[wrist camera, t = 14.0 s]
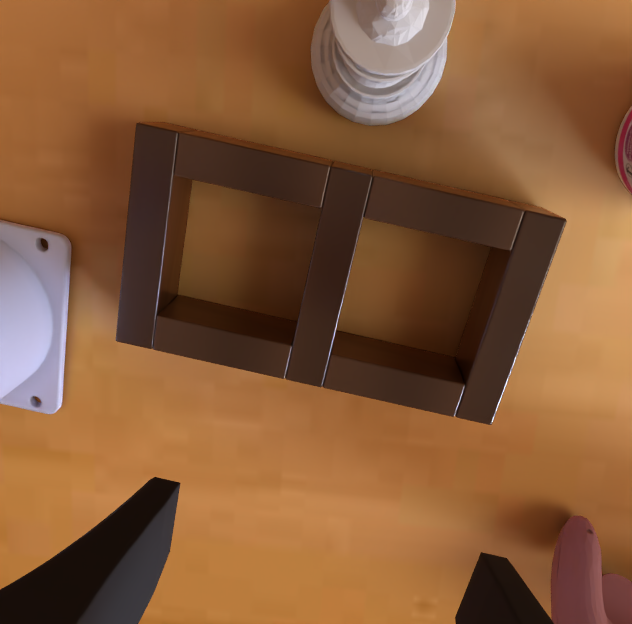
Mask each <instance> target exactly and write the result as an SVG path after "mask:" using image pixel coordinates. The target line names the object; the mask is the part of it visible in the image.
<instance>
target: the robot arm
mask: <svg viewBox="0 0 632 624" xmlns="http://www.w3.org/2000/svg"><path fill="white" fill-rule="evenodd" d="M41 238H43V239H45V240H46V241H47V242H48V245H49V247H48V249H46V248H44V247H43V246H42V245H41ZM71 250H72V248H71V243H70V241H69V239H68V238H67V237H66V236H65V235H63V234H61V233H57V232H53V231H48V230H44V229H39V228H35V227H30V226H26V225H21V224H17V223H13V222H8V221H4V220H0V403H1V404H5V405H10V406H14V407H19V408H23V409H28V410H32V411H37V412H41V413H45V414H52V413H55V412H56V411H57V410H58V409H59V408H60V407H61V405H62V397H63V381H64V364H65V348H66V332H67V315H68V299H69V283H70V266H71ZM34 396H36V397H38V398H39V399H40V400H41V403H40V402H37V401H36V400H35V397H34ZM179 488H180V483H179V482H174V481H170V480H166V479H161V478H157V477H154V478H152V479H151V480H149V481H148V482H147V483H146V484H145V485H144V486H143V487H142V488H140V489H139V490H138V491H137V492H136V493H135V494H134V495H133V496H132V497H130V498H129V499H128V500H127V501H126V502H125V503H123V504H122V505H121V506H120V507H119V508H118V509H116V510H115V511H114V512H113V513H112V514H110V515H109V516H108V517H107V518H105V519H104V520H103V521H101V522H100V523H99V524H98V525H96V526H95V527H94V528H93V529H91V530H90V531H89V532H88V533H86V534H85V535H84V536H82V537H81V538H79V539H78V540H77V541H75V542H74V543H72V544H71V545H70V546H68V547H67V548H65V549H64V550H63V551H61V552H60V553H58V554H57V555H56V556H54V557H53V558H51V559H50V560H48V561H47V562H45V563H44V564H42V565H41V566H39V567H37V568H36V569H34V570H33V571H31V572H30V573H28V574H26V575H25V576H23V577H21V578H20V579H18V580H16V581H15V582H13V583H11V584H10V585H8V586H6V587H4V588H2V589H1V590H0V624H138V623H139V621H140V619H141V617H142V615H143V613H144V611H145V609H146V607H147V605H148V603H149V601H150V599H151V597H152V595H153V593H154V591H155V588H156V586H157V583H158V581H159V578H160V576H161V573H162V570H163V568H164V565H165V562H166V560H167V557H168V554H169V552H170V547H171V540H172V534H173V527H174V520H175V514H176V507H177V501H178V494H179ZM455 619H456V624H554V623H553V621H552V620H551V619H550V617H549V616H548V615H547V613H546V612H545V610H544V609H543V608H542V606H541V605H540V603H539V602H538V601H537V599H536V598H535V596H534V595H533V594H532V592H531V591H530V589H529V588H528V587H527V585H526V584H525V582H524V581H523V580H522V578H521V577H520V575H519V574H518V573H517V571H516V570H515V568H514V567H513V566H512V564H511V563H510V562H509V560H508V559H507V558H504V557H499V556H495V555H491V554H486V553H482V552H481V554H480V556H479V559H478V561H477V564H476V566H475V569H474V572H473V574H472V577H471V579H470V582H469V584H468V587H467V589H466V592H465V594H464V597H463V599H462V602H461V604H460V607H459V609H458V612H457V614H456V617H455Z"/></svg>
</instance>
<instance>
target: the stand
mask: <svg viewBox="0 0 632 624" xmlns="http://www.w3.org/2000/svg"><path fill="white" fill-rule="evenodd" d="M192 179H193V180H197V181H201V182H206V183H210V184H215V185H219V186H224V187H228V188H232V189H237V190H241V191H246V192H250V193H255V194H259V195H264V196H268V197H272V198H277V199H281V200H286V201H290V202H295V203H299V204H304V205H308V206H312V207H317V208H322V210H321V214H320V219H319V224H318V228H317V233H316V238H315V242H314V247H313V252H312V256H311V261H310V266H309V270H308V275H307V280H306V284H305V289H304V294H303V298H302V303H301V308H300V312H299V317H298V322H296V321H291V320H287V319H282V318H278V317H274V316H269V315H265V314H260V313H256V312H251V311H247V310H242V309H238V308H234V307H229V306H225V305H220V304H216V303H211V302H207V301H202V300H198V299H194V298H189V297H185V296H180V295H178V296H177V293H178V285H179V278H180V270H181V262H182V255H183V247H184V240H185V232H186V225H187V217H188V209H189V202H190V194H191V187H192ZM363 217H364V218H366V219H370V220H375V221H379V222H384V223H388V224H393V225H397V226H402V227H406V228H410V229H415V230H419V231H424V232H428V233H433V234H437V235H442V236H446V237H450V238H455V239H459V240H464V241H468V242H473V243H477V244H481V245H486V246H490V247H491V250H490V253H489V256H488V259H487V262H486V265H485V268H484V271H483V275H482V278H481V281H480V284H479V287H478V290H477V293H476V296H475V299H474V302H473V305H472V308H471V311H470V314H469V317H468V320H467V323H466V326H465V330H464V333H463V336H462V339H461V342H460V345H459V348H458V351H457V354H456V357H455V358H454V357H451V356H446V355H442V354H437V353H433V352H428V351H424V350H420V349H415V348H411V347H406V346H402V345H397V344H393V343H388V342H384V341H380V340H375V339H371V338H366V337H362V336H357V335H353V334H348V333H344V332H340V331H336V328H337V324H338V320H339V316H340V312H341V308H342V304H343V299H344V295H345V291H346V287H347V283H348V279H349V275H350V270H351V266H352V262H353V258H354V254H355V250H356V246H357V241H358V237H359V233H360V229H361V225H362V221H363ZM565 224H566V219H565V218H563V217H561V216H559V215H557V214H554V213H552V212H550V211H548V210H546V209H544V208H542V207H537V206H533V205H529V204H524V203H520V202H515V201H511V200H508V201H507V200H505V199H502V198H498V197H493V196H489V195H484V194H480V193H475V192H471V191H467V190H462V189H458V188H453V187H449V186H444V185H440V184H435V183H431V182H427V181H422V180H418V179H413V178H409V177H404V176H400V175H396V174H391V173H387V172H382V171H378V170H372V171H371V169H369V168H365V167H360V166H356V165H351V164H347V163H342V162H338V161H334V162H333V160H329V159H325V158H320V157H316V156H311V155H307V154H302V153H298V152H294V151H289V150H285V149H280V148H276V147H271V146H267V145H262V144H258V143H254V142H249V141H245V140H240V139H236V138H231V137H227V136H223V135H218V134H214V133H209V132H205V131H198V130H196V129H191V128H187V127H183V126H178V125H174V124H169V123H165V122H139V123H137V124H136V132H135V142H134V153H133V164H132V174H131V185H130V195H129V206H128V216H127V227H126V237H125V248H124V259H123V269H122V280H121V290H120V301H119V311H118V322H117V333H116V341H118V342H122V343H127V344H131V345H135V346H140V347H144V348H149V349H152V348H153V349H154V350H157V351H162V352H166V353H171V354H175V355H180V356H184V357H189V358H193V359H197V360H202V361H206V362H211V363H215V364H220V365H224V366H229V367H233V368H237V369H242V370H246V371H251V372H255V373H260V374H264V375H269V376H273V377H277V378H282V379H285V378H286V379H287V380H291V381H295V382H300V383H304V384H309V385H313V386H318V387H322V386H323V387H324V388H327V389H332V390H336V391H341V392H345V393H349V394H354V395H358V396H363V397H367V398H372V399H376V400H381V401H385V402H389V403H394V404H398V405H403V406H407V407H412V408H416V409H421V410H425V411H430V412H434V413H438V414H443V415H447V416H452V417H454V416H456V417H457V418H461V419H466V420H470V421H475V422H479V423H484V424H488V425H491V424H492V422H493V420H494V417H495V414H496V411H497V409H498V406H499V403H500V401H501V398H502V395H503V393H504V390H505V387H506V384H507V382H508V379H509V376H510V374H511V371H512V368H513V365H514V363H515V360H516V357H517V355H518V352H519V349H520V346H521V344H522V341H523V338H524V336H525V333H526V330H527V327H528V325H529V322H530V319H531V317H532V314H533V311H534V308H535V306H536V303H537V300H538V298H539V295H540V292H541V290H542V287H543V284H544V281H545V279H546V276H547V273H548V271H549V268H550V265H551V262H552V260H553V257H554V254H555V252H556V249H557V246H558V243H559V241H560V238H561V235H562V233H563V230H564V227H565Z"/></svg>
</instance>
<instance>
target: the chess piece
mask: <svg viewBox="0 0 632 624" xmlns="http://www.w3.org/2000/svg"><path fill="white" fill-rule="evenodd" d="M454 14H455V0H330V1H329V3H328V4H327V5H326V6H325V8H324V9H323V10H322V13H321V15H320V17H319V19H318V21H317V23H316V26H315V28H314V33H313V38H312V43H311V64H312V70H313V74H314V77H315V81H316V84H317V87H318V89H319V90H320V92H321V94H322V95H323V97H324V99H325V100H326V102H327V103H328V104H329V105H330V106H331V107H332V108H333V109H334V110H335V111H336V112H337V113H338V114H340V115H342V116H344V117H345V118H347V119H349V120H351V121H353V122H356V123H360V124H364V125H369V126H374V125H388V124H391V123H394V122H397V121H400V120H403V119H405V118H406V117H408V116H409V115H411V114H412V113H414V112H415V111H417V110H418V109H419V108H420V107H421V106H422V105H423V104H424V103H425V102H426V100H427V99H428V98H429V97H430V96H431V95H432V94H433V92H434V90H435V88H436V86H437V85H438V83H439V81H440V79H441V77H442V73H443V70H444V66H445V62H446V59H447V35H448V34H449V32H450V29H451V25H452V22H453V18H454Z"/></svg>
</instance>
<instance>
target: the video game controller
mask: <svg viewBox="0 0 632 624" xmlns="http://www.w3.org/2000/svg"><path fill="white" fill-rule="evenodd" d="M551 614H552V621H553V623H554V624H632V582H631V581H629V580H628V579H627V578H625V577H622V576H620V575H618V574H613V573H608V574H605V575H602V566H601V548H600V545H599V541H598V537H597V535H596V532H595V530H594V528H593V526H592V524H591V523H590V522H589V521H588V519H587V518H585V517H583V516H573V517H570V518H569V520H567V522H566V523H565V524H564V526H563V527H562V529H561V532H560V534H559V537H558V540H557V543H556V547H555V551H554V557H553V562H552V573H551Z"/></svg>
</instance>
